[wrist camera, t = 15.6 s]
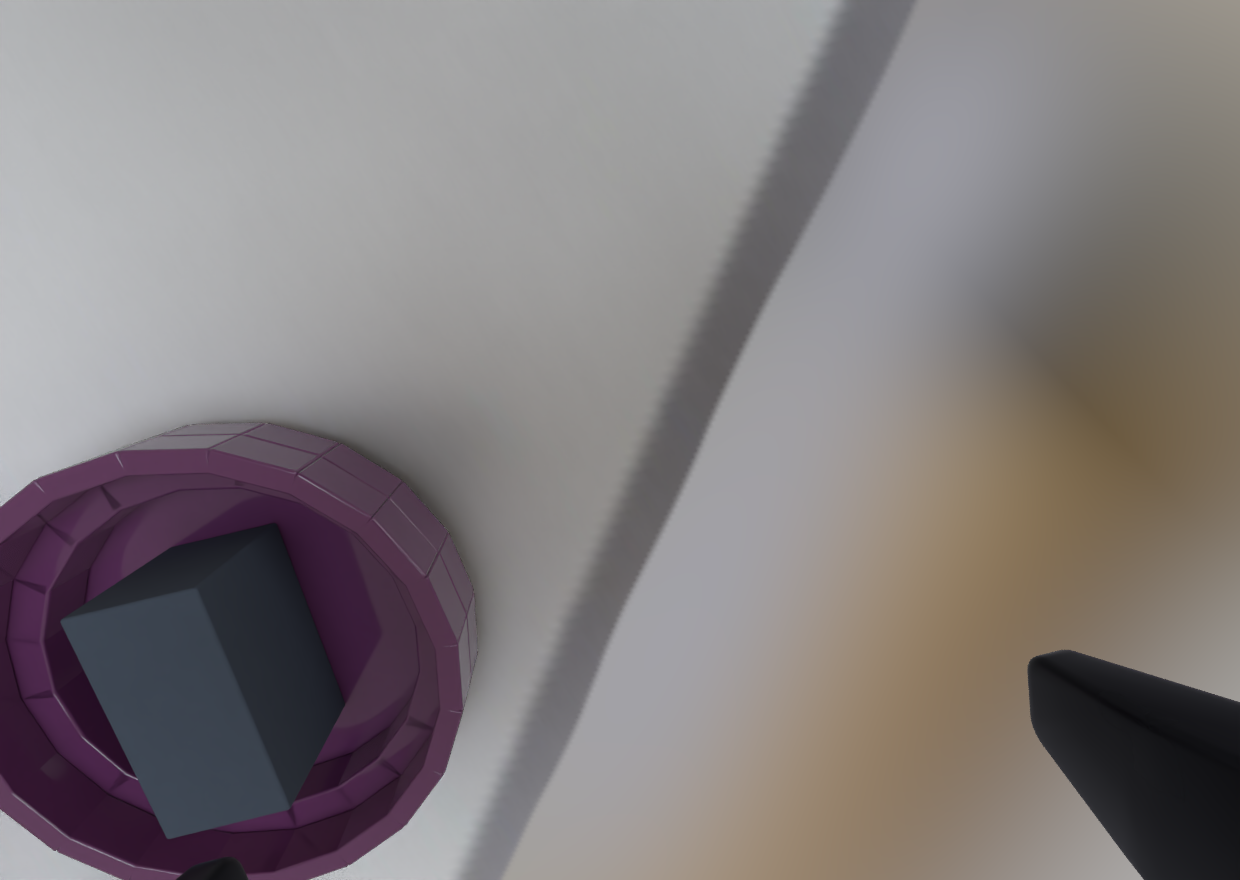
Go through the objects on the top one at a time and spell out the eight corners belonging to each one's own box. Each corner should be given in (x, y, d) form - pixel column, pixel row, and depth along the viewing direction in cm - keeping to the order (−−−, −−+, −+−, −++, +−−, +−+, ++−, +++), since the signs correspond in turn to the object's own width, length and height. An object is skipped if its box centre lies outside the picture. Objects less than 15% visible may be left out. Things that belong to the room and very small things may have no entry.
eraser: (169, 546, 18) (57, 620, 14) (277, 521, 18) (195, 587, 14) (247, 728, 19) (166, 841, 15) (346, 704, 19) (290, 811, 15)
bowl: (77, 362, 17) (-47, 382, 13) (526, 485, 19) (517, 529, 15) (24, 749, 19) (-92, 847, 16) (426, 825, 21) (398, 928, 18)
